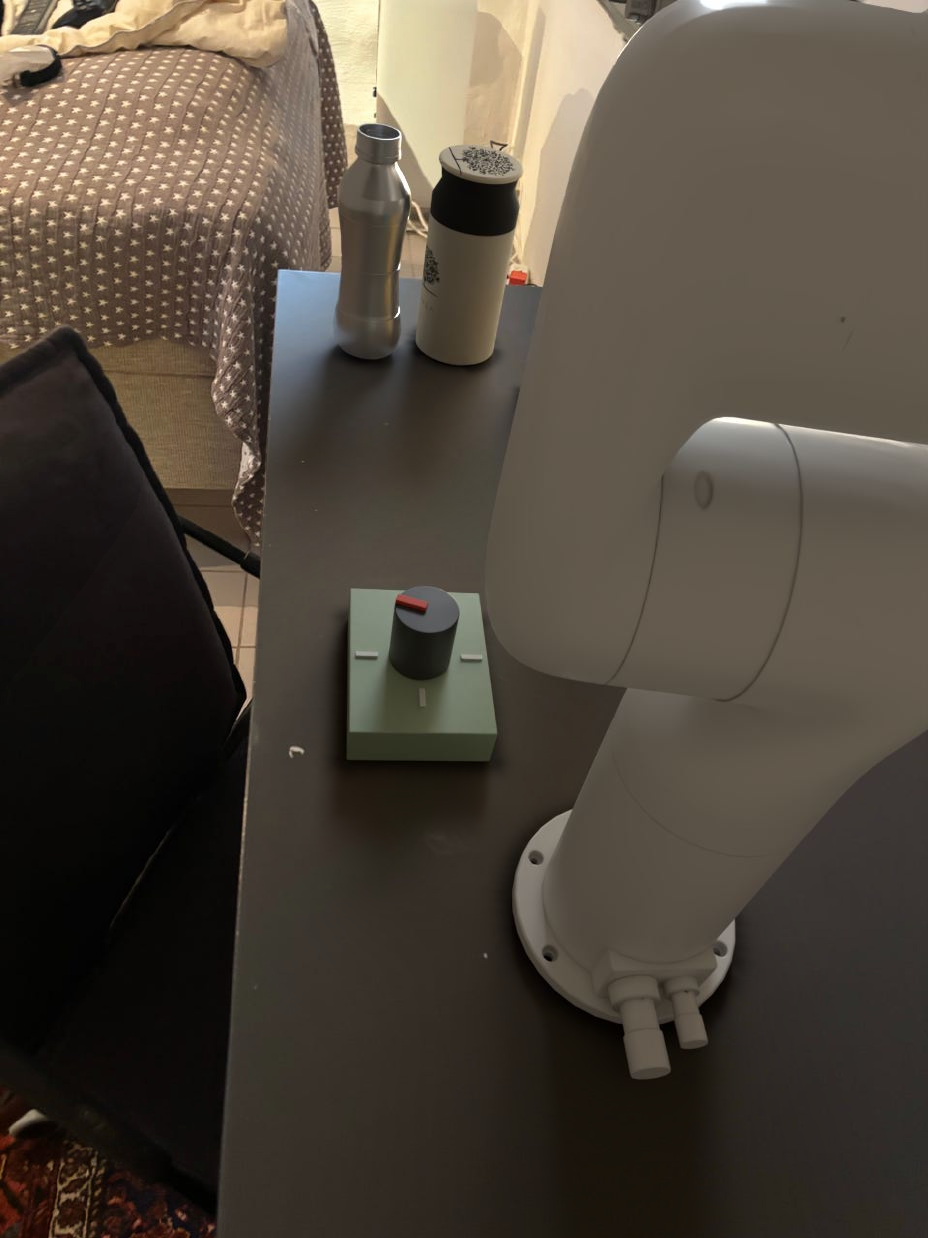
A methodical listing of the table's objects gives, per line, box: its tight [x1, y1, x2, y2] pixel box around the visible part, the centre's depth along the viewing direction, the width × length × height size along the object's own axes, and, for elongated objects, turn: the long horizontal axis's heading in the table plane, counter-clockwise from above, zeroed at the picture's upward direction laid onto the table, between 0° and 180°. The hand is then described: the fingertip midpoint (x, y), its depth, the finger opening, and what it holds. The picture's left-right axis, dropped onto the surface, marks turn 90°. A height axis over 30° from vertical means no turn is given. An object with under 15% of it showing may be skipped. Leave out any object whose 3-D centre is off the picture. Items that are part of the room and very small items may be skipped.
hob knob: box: [389, 585, 460, 680], centre depth 55 cm, size 4×4×5 cm
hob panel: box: [346, 588, 498, 762], centre depth 58 cm, size 12×9×3 cm
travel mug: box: [415, 144, 524, 366], centre depth 83 cm, size 8×8×18 cm
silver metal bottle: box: [332, 122, 413, 360], centre depth 79 cm, size 6×7×20 cm
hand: (625, 292), depth 71 cm, fingers closed
